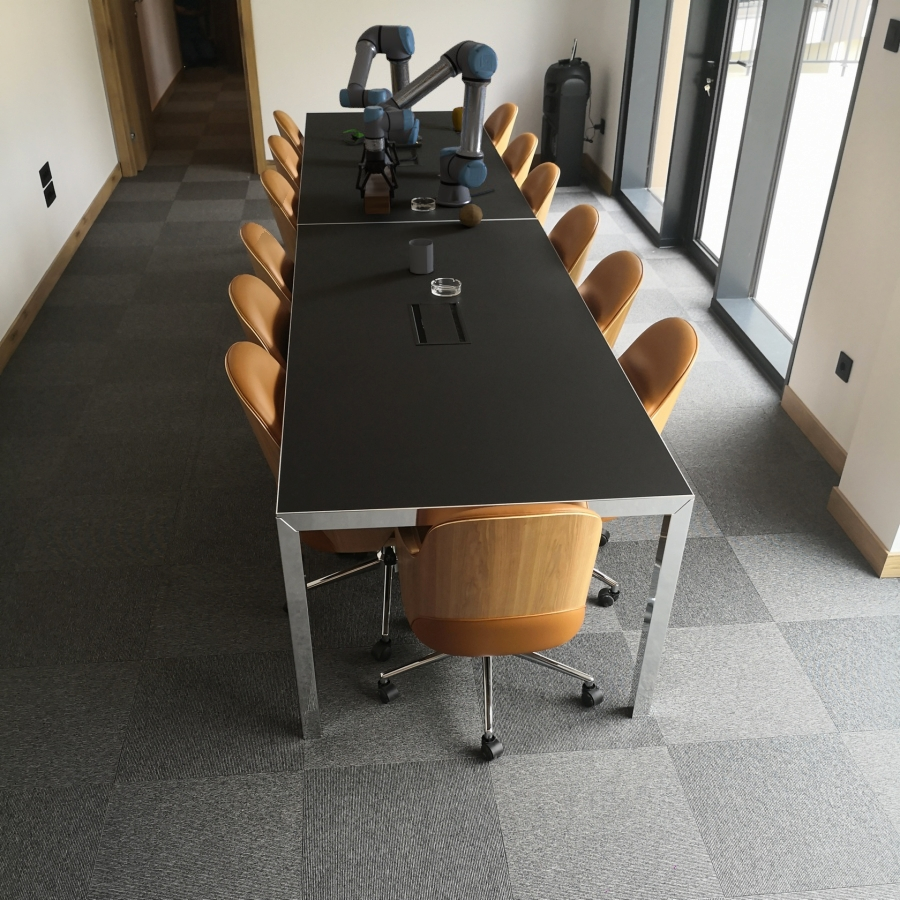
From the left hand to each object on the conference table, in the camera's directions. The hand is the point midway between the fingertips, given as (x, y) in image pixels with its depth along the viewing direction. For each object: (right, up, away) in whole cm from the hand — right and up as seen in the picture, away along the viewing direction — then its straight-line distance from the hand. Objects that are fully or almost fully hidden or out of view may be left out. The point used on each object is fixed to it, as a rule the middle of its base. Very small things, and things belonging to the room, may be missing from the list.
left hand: (381, 181), depth 378 cm
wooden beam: (+1, -10, -15) cm, 18 cm away
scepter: (-13, +49, +89) cm, 102 cm away
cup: (+20, -53, -70) cm, 90 cm away
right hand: (+1, -19, -30) cm, 36 cm away
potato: (+38, -27, -29) cm, 55 cm away
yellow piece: (+37, +64, +112) cm, 134 cm away
